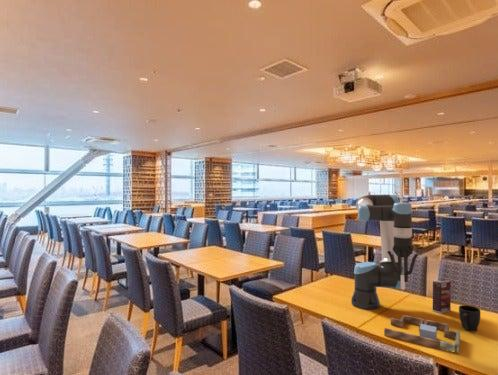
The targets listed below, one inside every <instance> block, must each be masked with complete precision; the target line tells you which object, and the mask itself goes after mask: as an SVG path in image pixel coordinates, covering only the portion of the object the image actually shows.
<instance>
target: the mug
mask: <svg viewBox="0 0 498 375" xmlns="http://www.w3.org/2000/svg"><path fill="white" fill-rule="evenodd" d="M458 314H459V320H460V323H461V327H462V329H463V330H465V331H469V332H477V331H478V328H479V326H480V321H481V310H480V309H479V308H478V307H476V306H473V305H467V304H466V305H465V304H462V305H459V306H458Z"/></svg>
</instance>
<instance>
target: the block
mask: <svg viewBox="0 0 498 375" xmlns="http://www.w3.org/2000/svg"><path fill="white" fill-rule="evenodd" d="M437 331H438V329H437V327H434V326H429V325H425V324H421V326H420V331H419V336H422V337H426V338H431V339H435V340H438V339H437V338H438V336H437V334H438V332H437Z"/></svg>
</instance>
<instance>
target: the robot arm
mask: <svg viewBox="0 0 498 375" xmlns="http://www.w3.org/2000/svg"><path fill="white" fill-rule="evenodd" d="M412 206H413V205H412V204H411V202H400V200H399V197H398V196H397V195H395V194H366V195H363V196H361V197H359V198H358V199H357V200H356V202H355V208H356V211H357V216H358V220H359V221H361V222H362V221H364V222H368V221H369V222H379V229H380V230H379V231H380V243H381V244H380V248H381V260H380V262H379V265H377V263H376V262H373V261H363V262H358V263H356V264H355V265H354V271H353V273H354V291H353V294H352V296H351V300H350V301H351V305H352V306H354V307H356V308H358V309H363V310H377V309H379V308H380V307H381V301H380V299H379V296H378V293H377V288H385V289H386V288H388V289H389V288H390V289H400V290H403V291H404V290H405V289H406V283H408V281H409V275H412V274H413V271H414V268H415V265H416V264H415V263H416V260H417V258H418V256H419V255H420V254H419V253H418V252H416V251H415V250H414V248H413V238H412V236H413V226H412V225H413V222H412V221H413V220H412V219H413V217H412V216H413V215H412V214H413V207H412ZM410 255H411V256H412V259H411V262H410V266H409V257H410ZM402 261H403V263H402Z"/></svg>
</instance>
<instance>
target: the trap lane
mask: <svg viewBox="0 0 498 375" xmlns="http://www.w3.org/2000/svg"><path fill="white" fill-rule="evenodd" d="M405 323H406V324H407V323H408V324H412V325H415V326H416V325H417V326H418V332H420V326H421V324H425V325H429V326H434V327H437V330H439V331H444V332H443V333H444V335H443V337H444V338H447V339H451V340H455V341H454V343H451V342H448V341H443V340H439V339H436V340H435V339H431V338H426V337H422V336H420V335H418V334H417V335H416V334H413V333H408V332H406V331H405V332H404V331H400V330H396V329H392V328H387V327H384V328H383V329H384V330H383V332H384V336H385V337H390V338H394V339H397V340H401V341H404V342H408V343H409V342H410V343H412V344H413V343H414V344H417V345H422V346H426V347H430V348H433V349H437V348H438V349H437V350H441V349H443V350H442V351H445V350H448V351H447V352H449V351H454V352H457V353H460V343H461V342H460V341H461V331H460V330H456V331H455V330H450V324H449V323H445V322H439V321H435V320H432V319H431V320H430V319H424V318H421V317H415V316H410V315H405V314H402V316H401V317H400V319H398V318H394V317H391V318H390V326H394V327H395V326H396V327H399V328H403V327H404V326H405ZM457 353H456V354H457Z"/></svg>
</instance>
